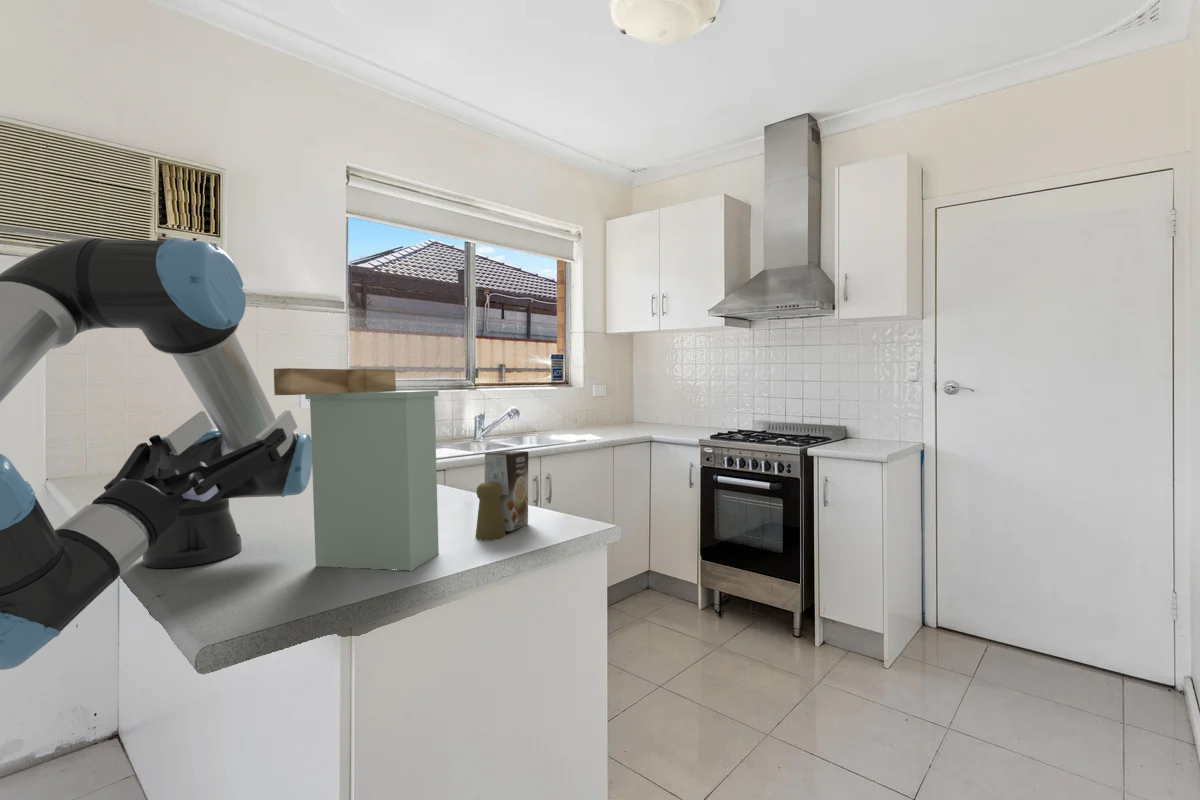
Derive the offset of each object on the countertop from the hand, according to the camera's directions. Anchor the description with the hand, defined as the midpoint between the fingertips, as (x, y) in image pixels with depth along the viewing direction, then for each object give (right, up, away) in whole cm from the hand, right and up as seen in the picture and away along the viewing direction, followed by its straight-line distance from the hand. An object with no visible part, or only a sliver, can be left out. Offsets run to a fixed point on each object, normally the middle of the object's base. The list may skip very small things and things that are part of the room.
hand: (248, 418), depth 82 cm
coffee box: (+29, -25, +45) cm, 59 cm away
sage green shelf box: (+9, -26, +24) cm, 36 cm away
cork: (+26, -25, +38) cm, 53 cm away
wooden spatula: (+4, +4, +19) cm, 19 cm away
